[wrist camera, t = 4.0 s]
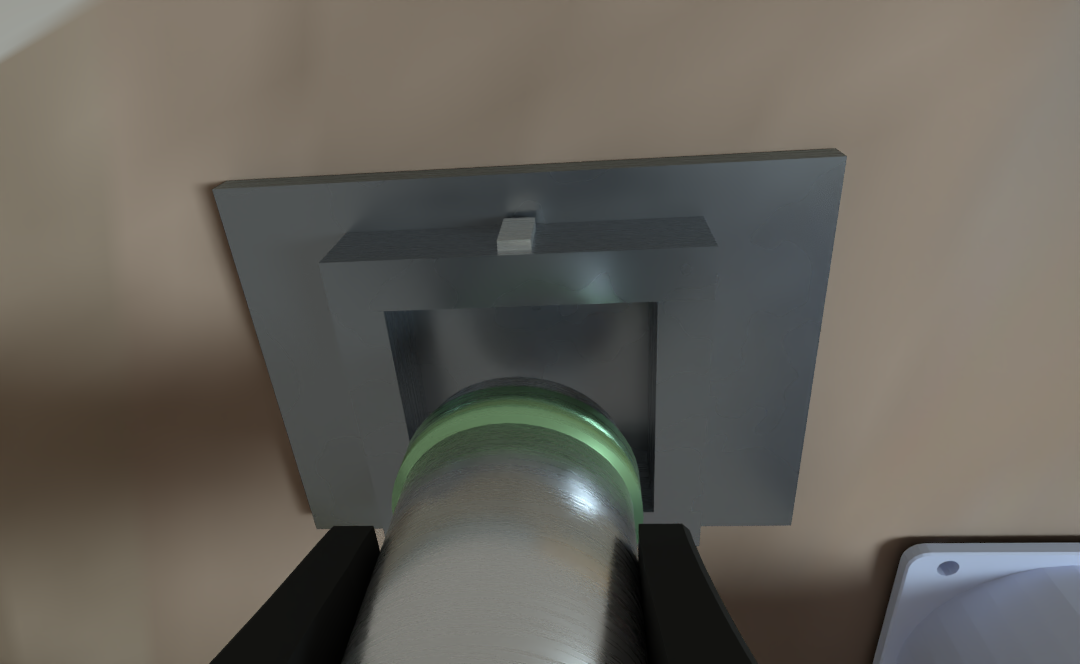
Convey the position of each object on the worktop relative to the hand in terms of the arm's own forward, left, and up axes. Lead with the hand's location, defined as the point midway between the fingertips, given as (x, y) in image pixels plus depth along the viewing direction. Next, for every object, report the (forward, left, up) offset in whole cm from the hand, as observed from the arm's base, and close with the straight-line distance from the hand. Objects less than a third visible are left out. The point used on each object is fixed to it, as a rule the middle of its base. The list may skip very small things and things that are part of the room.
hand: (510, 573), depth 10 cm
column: (0, 0, -2) cm, 2 cm away
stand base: (0, 0, -6) cm, 6 cm away
